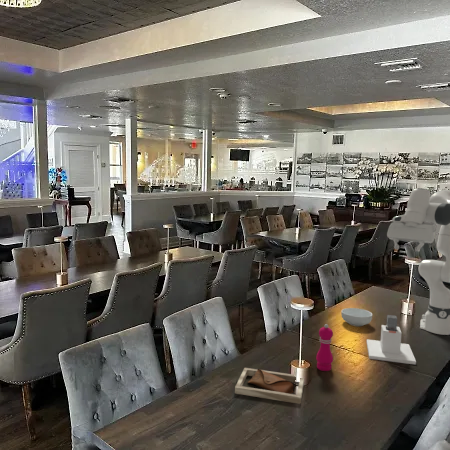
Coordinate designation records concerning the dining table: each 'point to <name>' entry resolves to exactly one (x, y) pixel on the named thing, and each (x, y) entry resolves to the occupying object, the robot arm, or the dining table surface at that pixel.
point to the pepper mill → (325, 349)
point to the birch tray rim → (266, 393)
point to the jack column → (391, 323)
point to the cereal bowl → (356, 316)
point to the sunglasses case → (272, 382)
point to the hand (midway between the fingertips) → (406, 249)
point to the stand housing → (390, 347)
